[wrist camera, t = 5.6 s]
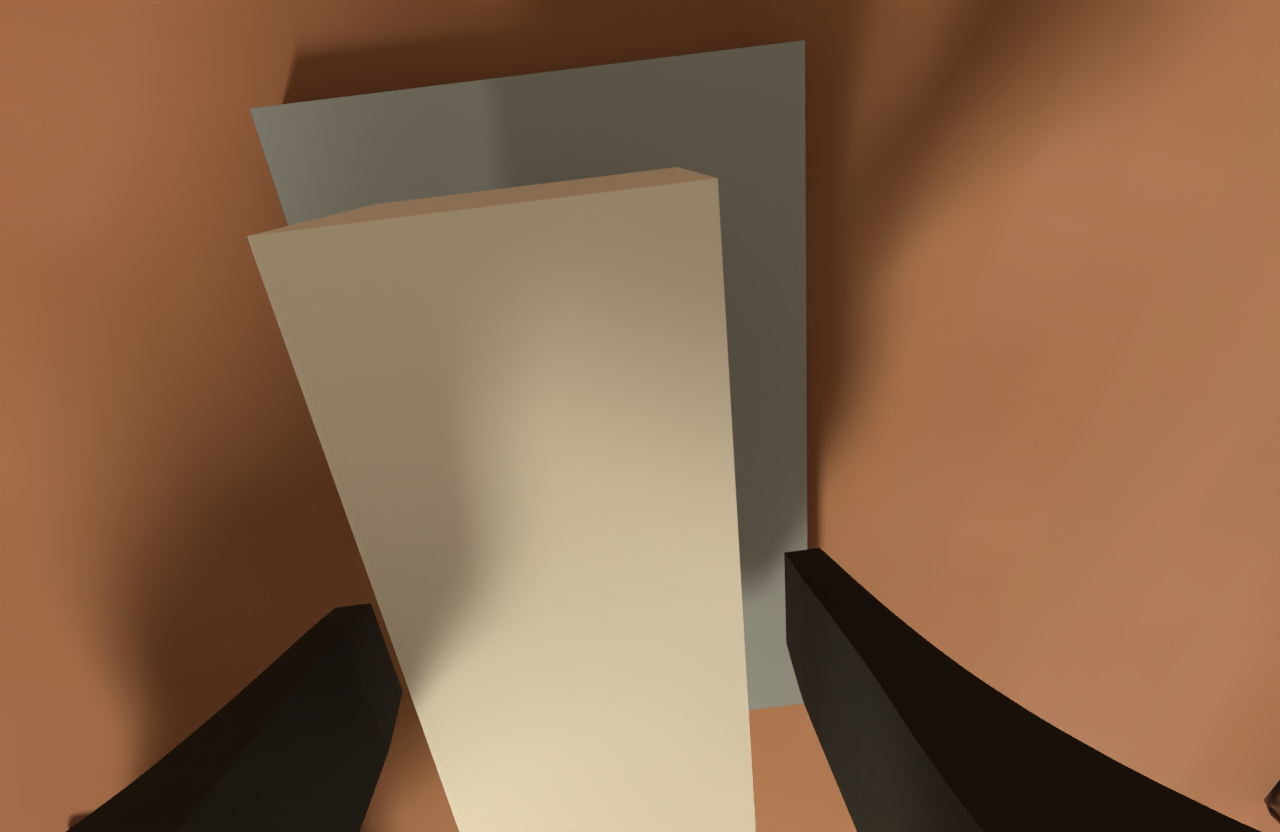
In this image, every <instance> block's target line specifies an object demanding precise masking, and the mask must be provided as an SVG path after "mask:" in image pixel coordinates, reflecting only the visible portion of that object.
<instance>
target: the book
mask: <svg viewBox="0 0 1280 832" xmlns="http://www.w3.org/2000/svg"><path fill="white" fill-rule="evenodd" d="M1264 801H1265V803H1266V805H1267V808H1268V810H1269V812H1270V814H1271V815H1272V816H1273V817H1274V818H1275V819H1276V820H1277V821H1278V822H1279V823H1280V780H1279V782H1278V783H1277V784H1276V785H1275V787H1274V788H1273V789H1272V790H1271V792H1270V793H1269V794H1268V795H1267V797H1266V798H1265V799H1264Z"/></svg>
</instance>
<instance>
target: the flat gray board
mask: <svg viewBox="0 0 1280 832" xmlns="http://www.w3.org/2000/svg"><path fill="white" fill-rule="evenodd" d="M250 111H251V114H252V117H253V120H254V124H255V127H256V130H257V133H258V136H259V139H260V142H261V145H262V148H263V151H264V154H265V157H266V160H267V163H268V166H269V169H270V172H271V175H272V178H273V181H274V184H275V187H276V190H277V193H278V196H279V200H280V203H281V206H282V209H283V212H284V215H285V218H286V221H287V224H288V226H290V225H294V224H298V223H302V222H306V221H310V220H314V219H318V218H322V217H326V216H330V215H334V214H338V213H342V212H346V211H350V210H354V209H358V208H362V207H366V206H370V205H374V204H381V203H389V202H397V201H405V200H413V199H422V198H430V197H438V196H446V195H454V194H462V193H470V192H478V191H486V190H495V189H503V188H511V187H519V186H527V185H535V184H543V183H551V182H560V181H568V180H576V179H584V178H592V177H600V176H608V175H616V174H625V173H633V172H641V171H649V170H657V169H665V168H673V167H680V168H683V169H687V170H690V171H694V172H697V173H701V174H704V175H708V176H711V177H715V178H718V192H719V209H720V226H721V244H722V261H723V278H724V295H725V313H726V330H727V347H728V364H729V381H730V399H731V416H732V433H733V450H734V468H735V485H736V502H737V519H738V537H739V554H740V571H741V588H742V606H743V623H744V640H745V657H746V675H747V692H748V709H749V710H754V709H762V708H770V707H778V706H786V705H794V704H802V703H804V702H803V699H802V696H801V693H800V689H799V686H798V683H797V679H796V676H795V672H794V669H793V665H792V662H791V658H790V655H789V651H788V647H787V644H786V608H785V564H784V552H792V551H800V550H807V349H806V126H805V40H801V41H793V42H785V43H777V44H769V45H761V46H752V47H744V48H736V49H728V50H720V51H712V52H704V53H696V54H687V55H679V56H671V57H663V58H655V59H647V60H639V61H631V62H622V63H614V64H606V65H598V66H590V67H582V68H574V69H566V70H557V71H549V72H541V73H533V74H525V75H517V76H509V77H501V78H492V79H484V80H476V81H468V82H460V83H452V84H444V85H436V86H427V87H419V88H411V89H403V90H395V91H387V92H379V93H371V94H362V95H354V96H346V97H338V98H330V99H322V100H314V101H306V102H297V103H289V104H281V105H273V106H265V107H257V108H250Z"/></svg>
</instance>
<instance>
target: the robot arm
mask: <svg viewBox="0 0 1280 832" xmlns="http://www.w3.org/2000/svg"><path fill="white" fill-rule="evenodd" d="M784 564H785V608H786V644H787V647H788V651H789V655H790V658H791V662H792V665H793V669H794V672H795V676H796V679H797V683H798V686H799V689H800V693H801V696H802V699H803V702H804V704H805V707H806V709H807V712H808V714H809V717H810V719H811V722H812V724H813V727H814V729H815V731H816V734H817V736H818V739H819V741H820V744H821V746H822V748H823V751H824V753H825V756H826V758H827V760H828V763H829V765H830V768H831V770H832V772H833V775H834V777H835V780H836V782H837V784H838V787H839V789H840V792H841V794H842V796H843V799H844V801H845V804H846V806H847V808H848V811H849V813H850V816H851V818H852V820H853V823H854V825H855V828H856V830H857V832H1261V831H1259V830H1256V829H1254V828H1252V827H1249V826H1247V825H1245V824H1242V823H1240V822H1238V821H1236V820H1234V819H1232V818H1229V817H1227V816H1225V815H1223V814H1221V813H1219V812H1217V811H1215V810H1213V809H1211V808H1209V807H1207V806H1205V805H1202V804H1200V803H1198V802H1196V801H1194V800H1192V799H1190V798H1188V797H1186V796H1184V795H1182V794H1180V793H1178V792H1176V791H1174V790H1172V789H1169V788H1167V787H1165V786H1163V785H1161V784H1159V783H1157V782H1155V781H1153V780H1152V779H1150V778H1148V777H1146V776H1144V775H1142V774H1140V773H1138V772H1136V771H1134V770H1132V769H1130V768H1128V767H1126V766H1124V765H1123V764H1121V763H1119V762H1117V761H1115V760H1113V759H1111V758H1110V757H1108V756H1106V755H1104V754H1102V753H1101V752H1099V751H1097V750H1095V749H1094V748H1092V747H1090V746H1088V745H1086V744H1085V743H1083V742H1081V741H1079V740H1077V739H1076V738H1074V737H1072V736H1070V735H1068V734H1067V733H1065V732H1063V731H1061V730H1060V729H1058V728H1056V727H1055V726H1053V725H1051V724H1050V723H1048V722H1046V721H1045V720H1043V719H1041V718H1039V717H1038V716H1036V715H1035V714H1033V713H1031V712H1030V711H1028V710H1027V709H1025V708H1023V707H1022V706H1020V705H1019V704H1017V703H1016V702H1014V701H1013V700H1011V699H1009V698H1008V697H1006V696H1005V695H1003V694H1002V693H1000V692H999V691H997V690H995V689H994V688H992V687H991V686H989V685H988V684H986V683H985V682H983V681H982V680H980V679H979V678H977V677H976V676H974V675H973V674H972V673H970V672H969V671H967V670H966V669H964V668H963V667H962V666H960V665H959V664H958V663H956V662H955V661H954V660H952V659H951V658H950V657H948V656H947V655H945V654H944V653H943V652H941V651H940V650H939V649H937V648H936V647H935V646H933V645H932V644H931V643H930V642H928V641H927V640H926V639H925V638H923V637H922V636H921V635H919V634H918V633H917V632H916V631H914V630H913V629H912V628H911V627H910V626H908V625H907V624H906V623H905V622H904V621H902V620H901V619H900V618H899V617H897V616H896V615H895V614H894V613H893V612H891V611H890V610H889V609H888V608H887V607H885V606H884V605H883V604H882V603H881V602H880V601H878V600H877V599H876V598H875V597H874V596H873V595H871V594H870V593H869V592H868V591H867V590H866V589H865V588H864V587H862V586H861V585H860V584H859V583H858V582H857V581H856V580H855V579H853V578H852V577H851V576H850V575H849V574H848V573H847V572H846V571H845V570H844V569H842V568H841V567H840V566H839V565H838V564H837V563H836V562H835V561H834V560H833V559H832V558H830V557H829V556H828V555H827V554H826V553H825V552H824V551H822V550H821V549H820V548H816V549H808V550H800V551H792V552H784ZM401 694H402V688H401V686H400V683H399V680H398V677H397V675H396V672H395V669H394V666H393V664H392V661H391V658H390V655H389V653H388V650H387V647H386V644H385V642H384V639H383V636H382V633H381V631H380V628H379V625H378V622H377V620H376V617H375V614H374V611H373V609H372V606H371V603H370V604H362V605H354V606H346V607H338V608H335V609H334V610H332V611H331V612H330V613H329V614H328V615H326V616H325V617H324V618H323V619H321V620H320V621H319V622H318V623H317V624H316V625H315V626H313V627H312V628H311V629H310V630H309V631H308V632H307V633H305V634H304V635H303V636H302V637H301V638H300V639H299V640H298V641H297V642H295V643H294V644H293V645H292V646H291V647H290V648H289V649H288V650H287V651H286V652H284V653H283V654H282V655H281V656H280V657H279V658H278V659H277V660H276V661H275V662H273V663H272V664H271V665H270V666H269V667H268V668H267V669H266V670H265V671H263V672H262V673H261V674H260V675H259V676H258V677H257V678H256V679H254V680H253V681H252V682H251V683H250V684H249V685H248V686H247V687H246V688H244V689H243V690H242V691H241V692H240V693H239V694H238V695H237V696H236V697H234V698H233V699H232V700H231V701H230V702H229V703H228V704H227V705H225V706H224V707H223V708H222V709H221V710H219V711H218V712H217V713H216V714H215V715H214V716H212V717H211V718H210V719H209V720H208V721H206V722H205V723H204V724H203V725H202V726H200V727H199V728H198V729H197V730H196V731H195V732H193V733H192V734H191V735H190V736H189V737H187V738H186V739H185V740H184V741H183V742H181V743H180V744H179V745H178V746H177V747H176V748H174V749H173V750H172V751H171V752H170V753H168V754H167V755H166V756H165V757H164V758H162V759H161V760H160V761H159V762H158V763H156V764H155V765H154V766H153V767H151V768H150V769H149V770H148V771H146V772H145V773H144V774H143V775H141V776H140V777H139V778H137V779H136V780H135V781H134V782H132V783H131V784H130V785H128V786H127V787H126V788H124V789H123V790H122V791H121V792H119V793H118V794H117V795H115V796H114V797H113V798H111V799H110V800H109V801H107V802H106V803H104V804H103V805H102V806H100V807H99V808H98V809H96V810H95V811H94V812H92V813H91V814H90V815H88V816H87V817H86V818H84V819H83V820H82V821H80V822H79V823H78V824H76V825H75V826H73V827H72V828H71V829H69V830H68V831H66V832H359V831H360V828H361V825H362V823H363V820H364V817H365V815H366V812H367V809H368V807H369V804H370V801H371V798H372V796H373V793H374V790H375V787H376V785H377V782H378V779H379V776H380V773H381V771H382V768H383V765H384V762H385V759H386V756H387V753H388V751H389V747H390V743H391V739H392V735H393V730H394V726H395V722H396V718H397V713H398V708H399V704H400V699H401Z"/></svg>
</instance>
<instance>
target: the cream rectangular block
mask: <svg viewBox="0 0 1280 832" xmlns="http://www.w3.org/2000/svg"><path fill="white" fill-rule="evenodd" d="M247 238H248V241H249V244H250V247H251V250H252V252H253V255H254V258H255V261H256V264H257V266H258V269H259V272H260V275H261V278H262V280H263V283H264V286H265V289H266V292H267V294H268V297H269V300H270V303H271V306H272V308H273V311H274V314H275V317H276V320H277V322H278V325H279V328H280V331H281V334H282V336H283V339H284V342H285V345H286V348H287V350H288V353H289V356H290V359H291V362H292V364H293V367H294V370H295V373H296V376H297V378H298V381H299V384H300V387H301V390H302V392H303V395H304V398H305V401H306V404H307V406H308V409H309V412H310V415H311V418H312V420H313V423H314V426H315V429H316V432H317V434H318V437H319V440H320V443H321V446H322V448H323V451H324V454H325V457H326V460H327V462H328V465H329V468H330V471H331V474H332V476H333V479H334V482H335V485H336V488H337V490H338V493H339V496H340V499H341V502H342V504H343V507H344V510H345V513H346V516H347V518H348V521H349V524H350V527H351V530H352V532H353V535H354V538H355V541H356V544H357V546H358V549H359V552H360V555H361V558H362V560H363V563H364V566H365V569H366V572H367V574H368V577H369V580H370V583H371V586H372V588H373V591H374V594H375V597H376V600H377V602H378V605H379V608H380V611H381V614H382V616H383V619H384V622H385V625H386V628H387V630H388V633H389V636H390V639H391V642H392V644H393V647H394V650H395V653H396V656H397V658H398V661H399V664H400V667H401V670H402V672H403V675H404V678H405V681H406V684H407V686H408V689H409V692H410V695H411V698H412V700H413V703H414V706H415V709H416V712H417V714H418V717H419V720H420V723H421V726H422V728H423V731H424V734H425V737H426V740H427V742H428V745H429V748H430V751H431V754H432V756H433V759H434V762H435V765H436V768H437V770H438V773H439V776H440V779H441V782H442V784H443V787H444V790H445V793H446V796H447V798H448V801H449V804H450V807H451V809H452V812H453V815H454V818H455V821H456V823H457V826H458V829H459V832H756V830H755V813H754V795H753V778H752V761H751V744H750V726H749V709H748V692H747V675H746V657H745V640H744V623H743V606H742V588H741V571H740V554H739V537H738V519H737V502H736V485H735V468H734V450H733V433H732V416H731V399H730V381H729V364H728V347H727V330H726V313H725V295H724V278H723V261H722V244H721V226H720V209H719V192H718V178H715V177H711V176H708V175H704V174H701V173H697V172H694V171H690V170H687V169H683V168H680V167H673V168H665V169H657V170H649V171H641V172H633V173H625V174H616V175H608V176H600V177H592V178H584V179H576V180H568V181H560V182H551V183H543V184H535V185H527V186H519V187H511V188H503V189H495V190H486V191H478V192H470V193H462V194H454V195H446V196H438V197H430V198H422V199H413V200H405V201H397V202H389V203H381V204H374V205H370V206H366V207H362V208H358V209H354V210H350V211H346V212H342V213H338V214H334V215H330V216H326V217H322V218H318V219H314V220H310V221H306V222H302V223H298V224H294V225H290V226H286V227H282V228H278V229H274V230H270V231H266V232H262V233H258V234H254V235H250V236H247Z"/></svg>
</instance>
